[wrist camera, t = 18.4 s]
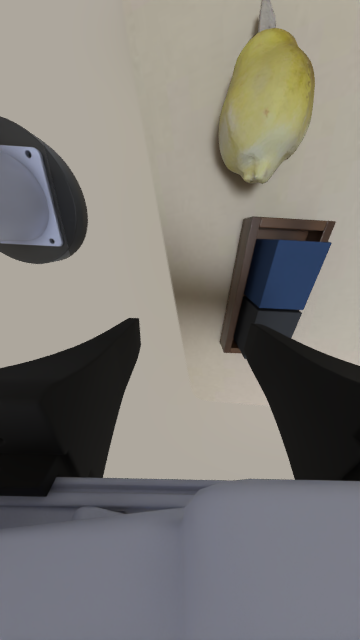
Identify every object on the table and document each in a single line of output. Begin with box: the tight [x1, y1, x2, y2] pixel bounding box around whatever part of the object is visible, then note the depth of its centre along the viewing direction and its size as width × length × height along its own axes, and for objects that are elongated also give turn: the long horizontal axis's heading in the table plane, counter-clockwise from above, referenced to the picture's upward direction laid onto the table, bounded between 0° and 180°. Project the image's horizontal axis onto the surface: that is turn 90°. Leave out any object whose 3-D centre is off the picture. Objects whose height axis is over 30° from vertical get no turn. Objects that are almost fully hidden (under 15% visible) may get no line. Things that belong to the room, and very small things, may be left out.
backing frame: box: [220, 217, 336, 353], centre depth 19 cm, size 8×15×2 cm, turn 177°
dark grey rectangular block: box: [233, 296, 302, 359], centre depth 19 cm, size 4×6×4 cm
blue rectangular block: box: [244, 239, 331, 310], centre depth 17 cm, size 4×6×4 cm
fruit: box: [219, 0, 315, 184], centre depth 11 cm, size 6×6×10 cm
